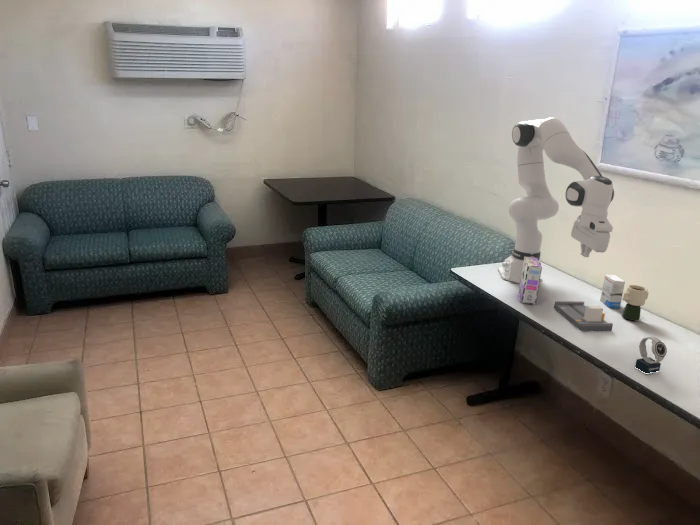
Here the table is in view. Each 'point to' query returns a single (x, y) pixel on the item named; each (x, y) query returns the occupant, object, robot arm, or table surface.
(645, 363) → the watch
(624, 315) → the character mug
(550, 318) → the table surface
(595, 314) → the fader tab
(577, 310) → the fader console
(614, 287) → the ink box
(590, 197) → the robot arm
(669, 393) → the table surface
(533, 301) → the candy box
